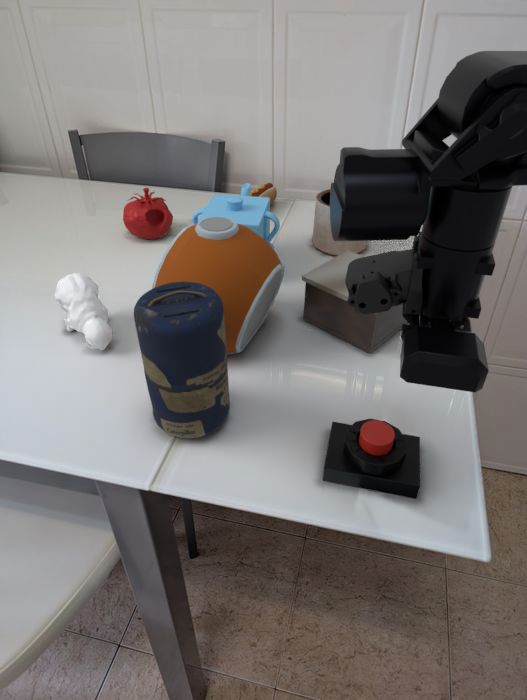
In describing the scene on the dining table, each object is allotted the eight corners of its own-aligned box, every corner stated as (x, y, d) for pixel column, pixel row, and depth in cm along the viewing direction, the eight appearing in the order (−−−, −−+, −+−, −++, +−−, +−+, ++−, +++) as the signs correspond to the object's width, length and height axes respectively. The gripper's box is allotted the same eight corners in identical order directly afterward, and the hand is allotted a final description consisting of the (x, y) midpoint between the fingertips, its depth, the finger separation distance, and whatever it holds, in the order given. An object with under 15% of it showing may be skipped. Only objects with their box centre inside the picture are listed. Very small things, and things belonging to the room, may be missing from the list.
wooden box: (303, 319, 78) (305, 282, 74) (346, 291, 85) (351, 256, 81) (369, 354, 72) (376, 315, 67) (411, 321, 78) (420, 283, 74)
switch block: (416, 449, 58) (423, 425, 55) (416, 499, 52) (424, 475, 50) (330, 434, 59) (333, 410, 57) (322, 480, 54) (325, 456, 52)
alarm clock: (201, 288, 86) (193, 189, 75) (296, 310, 80) (302, 207, 70) (138, 351, 72) (116, 241, 61) (247, 383, 66) (245, 268, 56)
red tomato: (116, 239, 101) (107, 194, 95) (142, 220, 108) (136, 177, 102) (159, 247, 98) (153, 201, 92) (183, 227, 105) (178, 183, 100)
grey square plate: (301, 280, 75) (301, 275, 74) (347, 254, 81) (347, 250, 81) (376, 314, 67) (377, 309, 67) (420, 283, 74) (421, 278, 73)
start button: (392, 434, 55) (395, 423, 54) (391, 459, 52) (394, 447, 51) (360, 428, 55) (362, 417, 54) (357, 452, 53) (359, 441, 51)
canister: (230, 443, 58) (223, 317, 47) (149, 446, 58) (122, 319, 47) (230, 388, 66) (224, 267, 55) (158, 390, 65) (137, 269, 54)
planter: (364, 234, 103) (371, 188, 97) (369, 258, 94) (376, 210, 88) (312, 231, 104) (315, 186, 98) (311, 256, 95) (315, 208, 89)
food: (250, 224, 106) (250, 202, 103) (229, 219, 108) (228, 197, 105) (281, 203, 116) (281, 182, 113) (260, 198, 118) (260, 177, 115)
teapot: (274, 285, 86) (275, 215, 78) (187, 278, 88) (180, 209, 80) (286, 240, 100) (288, 177, 92) (211, 235, 102) (207, 172, 94)
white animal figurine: (89, 262, 75) (119, 305, 67) (99, 307, 80) (128, 351, 73) (46, 274, 72) (73, 320, 65) (59, 319, 78) (85, 366, 70)
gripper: (365, 187, 49) (350, 318, 58) (345, 282, 34) (328, 434, 44) (485, 196, 46) (448, 330, 56) (516, 301, 32) (459, 456, 42)
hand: (421, 379), depth 50 cm, fingers closed
